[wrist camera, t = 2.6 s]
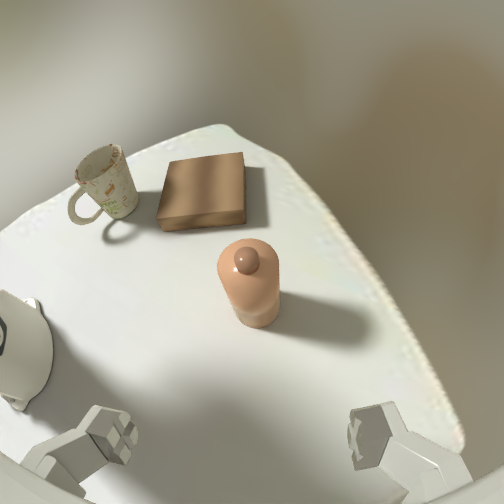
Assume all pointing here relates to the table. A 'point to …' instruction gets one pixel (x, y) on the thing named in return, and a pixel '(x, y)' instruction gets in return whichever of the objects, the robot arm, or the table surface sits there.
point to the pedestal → (203, 193)
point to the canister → (251, 281)
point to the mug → (105, 184)
